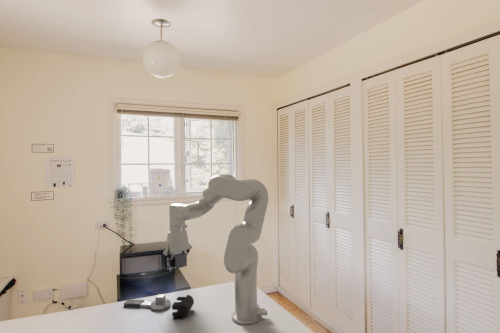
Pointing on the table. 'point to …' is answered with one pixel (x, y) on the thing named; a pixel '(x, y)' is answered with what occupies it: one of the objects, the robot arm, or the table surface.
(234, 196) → the robot arm
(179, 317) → the end cap
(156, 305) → the ratchet
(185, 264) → the matte grey cube
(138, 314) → the table surface
